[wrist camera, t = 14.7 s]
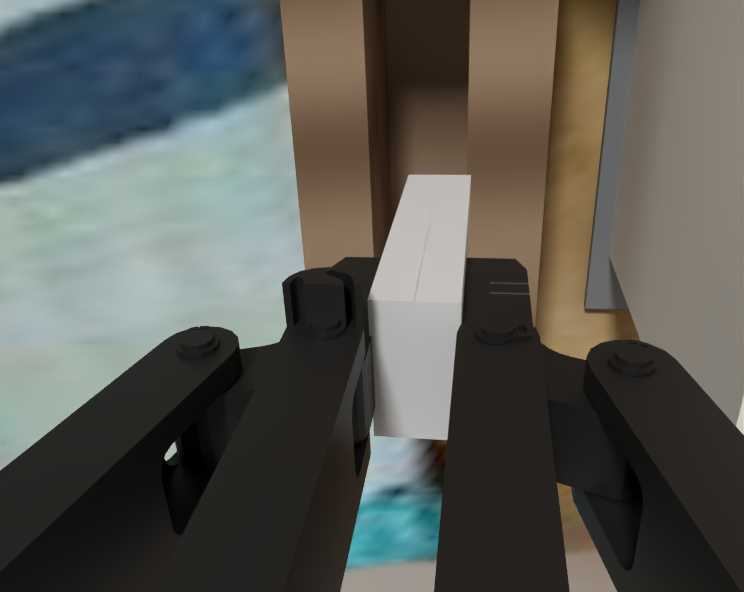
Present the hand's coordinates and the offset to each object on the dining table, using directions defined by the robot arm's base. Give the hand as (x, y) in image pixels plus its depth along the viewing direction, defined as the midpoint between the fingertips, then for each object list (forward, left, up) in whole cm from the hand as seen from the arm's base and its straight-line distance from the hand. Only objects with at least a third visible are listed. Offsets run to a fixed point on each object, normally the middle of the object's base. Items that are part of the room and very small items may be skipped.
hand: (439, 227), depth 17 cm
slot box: (-1, +1, -12) cm, 12 cm away
